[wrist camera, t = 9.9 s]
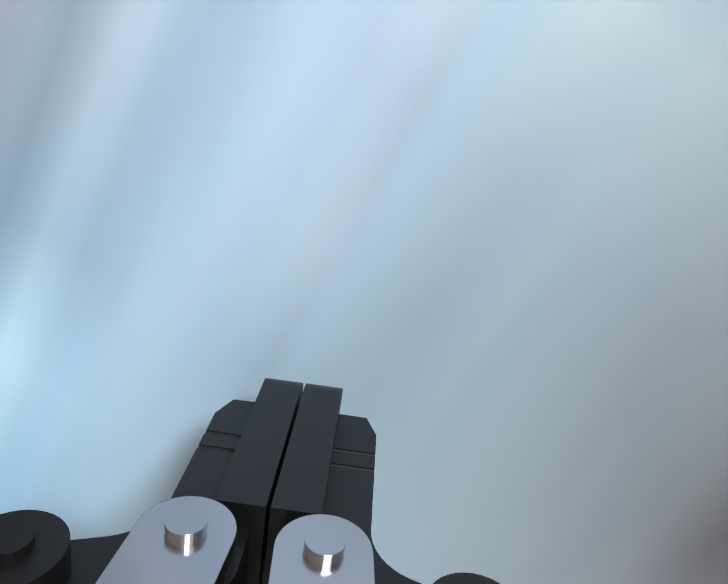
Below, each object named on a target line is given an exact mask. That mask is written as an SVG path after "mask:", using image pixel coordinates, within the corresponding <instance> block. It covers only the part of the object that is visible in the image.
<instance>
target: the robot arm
mask: <svg viewBox="0 0 728 584" xmlns="http://www.w3.org/2000/svg"><path fill="white" fill-rule="evenodd" d="M342 390H343V389H342V388H335V387H328V386H320V385H313V384H306V385H305V388H304V391H303V383H298V382H291V381H284V380H277V379H270V378H266V379H265V380H264V382H263V385H262V387H261V390H260V392H259V394H258V397H257V399H256V402H248V401H241V400H233V401H231V402H230V403H228V404H227V405H226V406H224V407H223V408H221V409H220V410H219V411H217V412H216V413H215V414H214V416H213V418H212V420H211V422H210V424H209V426H208V428H207V430H206V433H205V434H204V436H203V438H202V440H201V442H200V444H199V448H197V449H196V451H195V453H194V455H193V457H192V459H191V461H190V463H189V465H188V467H187V469H186V471H185V473H184V474H183V476H182V478H181V480H180V482H179V484H178V486H177V488H176V490H175V492H174V494H173V496H172V498H171V499H169V500H166V501H163V502H161V503H159V504H157V505H155V506H153V507H152V508H150V509H149V510H148V511H146V512H145V513H144V514H143V515H142V516H141V518H140V519H139V520H138V521H137V523H136V524H135V526H134V527H133V529H132V530H131V531H130V532H126V533H123V534H119V535H113V536H107V537H97V538H88V539H79V540H70V532H69V529H68V527H67V525H66V523H65V522H64V521H63V520H62V519H61V518H59V517H57V516H56V515H54V514H51V513H48V512H44V511H38V510H19V511H13V512H8V513H4V514H0V584H421V583H418V582H416V581H414V580H411V579H409V578H407V577H405V576H403V575H401V574H399V573H398V572H396V571H395V570H393V569H392V568H391V567H390V566H389V565H387V564H386V563H385V562H384V561H383V559H382V558H381V557H380V556H379V554H378V553H377V551H376V549H375V547H374V545H373V542H372V538H371V520H372V501H373V483H374V465H375V447H376V434H375V432H374V431H373V429H372V427H371V426H370V424H369V422H368V420H367V419H366V418H362V417H355V416H348V415H341V414H339V413H340V406H341V398H342ZM433 584H500V583H498V582H496V581H494V580H492V579H490V578H487V577H484V576H482V575H477V574H473V573H454V574H449V575H446V576H444V577H441V578H440V579H438V580H437V581H435V582H434V583H433Z"/></svg>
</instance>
